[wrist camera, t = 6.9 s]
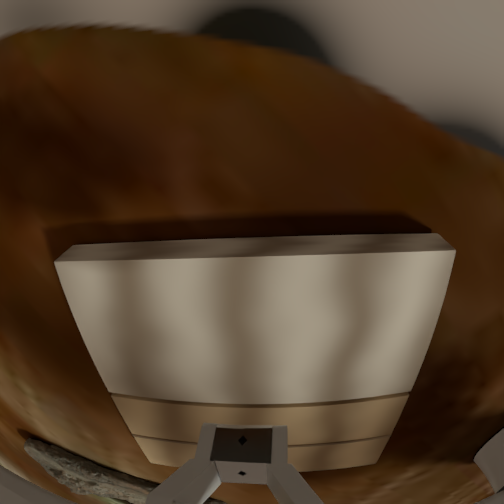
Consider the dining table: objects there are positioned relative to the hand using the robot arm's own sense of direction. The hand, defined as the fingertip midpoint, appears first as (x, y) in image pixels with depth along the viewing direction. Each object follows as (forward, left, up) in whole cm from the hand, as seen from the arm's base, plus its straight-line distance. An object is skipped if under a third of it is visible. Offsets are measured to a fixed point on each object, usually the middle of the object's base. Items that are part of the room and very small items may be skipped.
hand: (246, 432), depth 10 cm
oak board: (0, +15, -11) cm, 19 cm away
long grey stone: (+23, +36, -11) cm, 45 cm away
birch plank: (0, +3, -11) cm, 11 cm away
